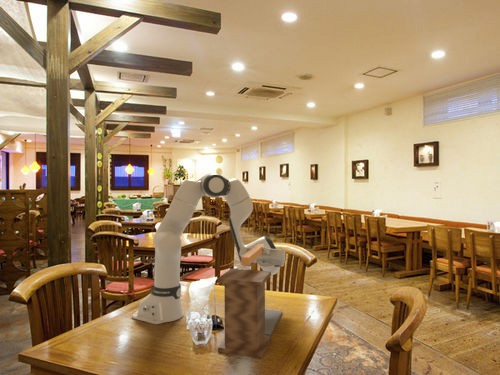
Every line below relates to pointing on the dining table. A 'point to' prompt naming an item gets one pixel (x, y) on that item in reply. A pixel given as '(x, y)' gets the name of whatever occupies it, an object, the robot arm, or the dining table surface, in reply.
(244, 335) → the wooden pillar on base
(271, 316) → the mat
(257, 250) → the bar
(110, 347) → the dining table surface
